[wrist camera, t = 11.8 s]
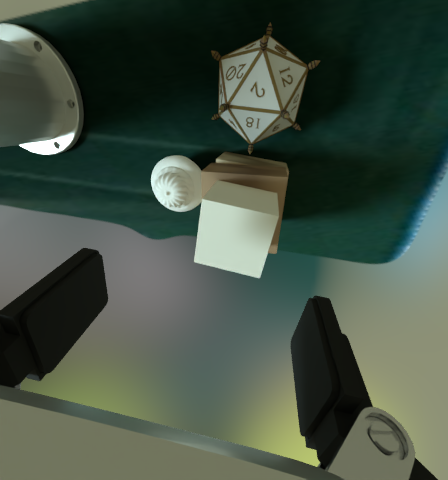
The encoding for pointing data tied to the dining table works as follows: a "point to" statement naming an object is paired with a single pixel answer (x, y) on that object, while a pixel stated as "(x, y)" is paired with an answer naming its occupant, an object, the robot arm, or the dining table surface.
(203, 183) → the walnut block
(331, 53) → the dining table surface
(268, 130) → the game die
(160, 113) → the dining table surface
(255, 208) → the ivory cube
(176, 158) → the white rounded piece
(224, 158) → the oak block
